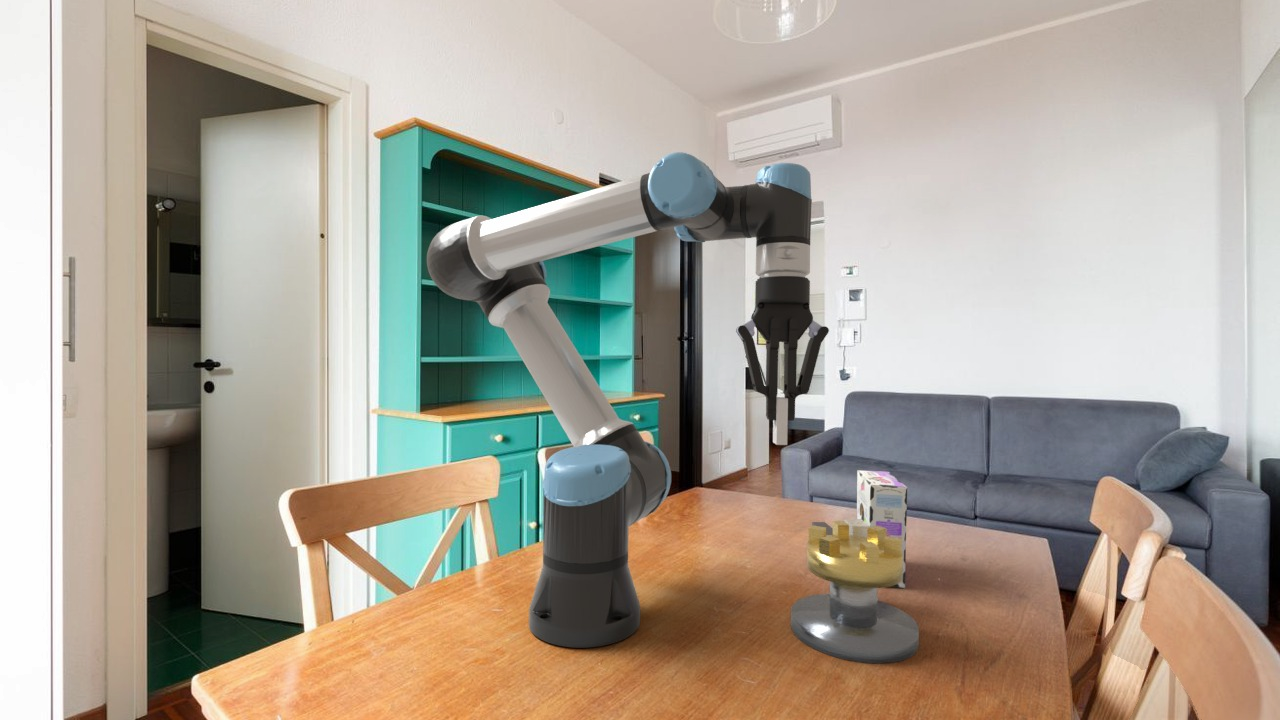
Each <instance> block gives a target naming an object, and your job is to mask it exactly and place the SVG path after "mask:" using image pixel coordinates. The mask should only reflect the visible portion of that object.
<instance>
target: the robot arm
mask: <svg viewBox="0 0 1280 720" xmlns="http://www.w3.org/2000/svg"><path fill="white" fill-rule="evenodd" d="M811 183H812V181H811V173H810V171H809V170H808V169H807V168H806V167H805V166H804V165H801V164H798V163H793V162H780V163H773V164H772V165H766V166H764V167H762V168H760V170H758V172H757V176H756V179H755V183H752V184H746V185H745V184H744V185H739V186H738V185H737V186H736V185H735V186H725V185H724V184H723V182H721V181H720V179H718V178H717V177H716V176H715V174H714V172H713V170H712V169H710V167H709V166H708V165H707V164H706V163H705V162H703V161H702V160H700V159H699V158H697V157H696V156H694V155H692V154H690V153H687V152H683V151H682V152H678V151H677V152H673V153H669V154H667V155H664V156H663V157H662V158H661V159H659V160H658V161H657V162H656V163H655V164H654V165H653V167H652V169H651V171H650V172H648V173H644V174H642V175H638V176H635V177H631V178H628V179H624V180H621V181H619V182H613V183H611V184H607V185H604V186H600V187H597V188H593V189H590V190H586V191H584V192H583V191H582V192H580V193H577V194H573V195H569V196H566V197H562V198H560V199H556V200H552V201H549V202H546V203H542V204H539V205H536V206H533V207H528V208H526V209H522V210H518V211H516V212H512V213H509V214H505V215H501V216H498V217H495V218H490V217H489V216H486V215H476V216H473V217H469V218H466V219H462V220H460V221H457V222H454V223H451V224H450V225H447V226H446V227H444V228H442V229H441V230H440V231H439V232H437V233H436V235H435V236H434V237H433V238H432V240H431V242H430V244H429V247H428V248H427V249H428V250H427V253H426V266H427V270H428V273H429V276H430V278H431V280H432V282H433V283H434V284H435V286H437V288H439V290H440V291H442V292H443V293H445V294H446V295H448V296H450V297H453V298H455V299H459V300H463V301H469V302H476V303H477V304H478V305H479V306H480V309H481V310H482V312H483V313H484V315H485V317H486V319H487V320H488V321H489V324H490V325H491V326H494V327H497V328H502V329H503V330H504V332H505V333H506V334H507V336H508V338H509V340H510V342H511V343H512V345H513V347H514V348H515V350H516V352H517V354H518V355H519V356H520V358H521V360H522V361H523V363H524V365H525V366H526V368H527V370H528V371H529V374H530V375H531V376H532V379H533V381H534V382H535V384H536V385H537V387H538V388H539V390H540V392H541V394H542V395H543V397H544V399H545V400H546V402H547V404H548V405H549V407H550V409H551V411H552V412H553V414H554V416H555V418H556V419H557V420H558V423H559V424H560V426H561V427H562V429H563V431H564V432H565V434H566V435H567V438H568V439H569V441H570V443H571V444H572V446H571V447H567V448H564V449H561V450H559V451H556V452H555V453H553V454H552V455H551V456H550V457H549V458H548V459H547V461H546V462H545V466H544V476H543V477H544V478H543V480H542V488H541V489H542V493H543V498H542V500H543V501H542V503H543V508H542V510H543V511H542V512H543V513H542V515H543V516H542V517H543V519H542V520H543V521H542V522H543V523H542V524H543V525H542V530H543V531H542V532H543V533H542V535H543V536H542V539H543V541H542V567H541V572H540V573H539V574H540V575H539V577H538V580H537V582H536V586H535V589H534V592H533V594H532V598H531V602H530V604H529V609H528V610H529V611H528V627H529V631H530V632H531V633H532V634H533V635H534V636H535V637H536V638H538V639H540V640H542V641H543V642H546V643H549V644H551V645H554V646H555V645H556V646H559V647H564V648H565V647H567V648H575V649H576V648H577V649H579V648H580V649H581V648H597V647H602V646H607V645H612V644H615V643H618V642H620V641H624V640H625V639H627V638H629V637H630V636H632V635H634V633H635V632H636V631H637V630H638V628H639V627H640V625H641V603H640V600H639V596H638V594H637V590H636V587H635V583H634V580H633V577H632V574H631V570H630V567H629V531H630V530H629V527H631V526H632V525H634V524H636V523H637V522H638V521H640V520H642V519H644V518H646V517H648V516H649V515H651V514H652V513H654V512H655V511H656V510H657V509H658V508H659V507H660V505H662V503H663V502H664V501H665V500H666V498H667V496H668V494H669V492H670V488H671V485H672V470H671V467H670V462H669V460H668V459H667V457H666V455H665V454H664V452H663V451H662V450H661V449H660V448H659V447H658V446H656V445H655V444H652V443H651V442H648V441H645V439H643V437H642V435H641V433H640V432H639V431H638V429H637V427H636V426H635V425H634V423H633V422H632V421H628V420H623V419H621V418H619V416H618V414H617V413H616V411H615V409H614V408H613V406H612V405H611V404H610V402H609V400H608V398H607V397H606V395H605V394H604V392H603V390H602V388H601V387H600V385H599V384H598V382H597V380H596V378H595V377H594V375H593V374H592V372H591V371H590V369H589V368H588V366H587V364H586V363H585V361H584V359H583V358H582V356H581V355H580V353H579V352H578V350H577V348H576V347H575V345H574V344H573V341H571V339H570V337H569V334H567V333H566V331H565V329H564V327H563V326H562V324H561V322H560V321H559V319H558V318H557V316H556V313H554V311H553V309H552V308H551V306H550V305H549V303H548V301H549V297H550V296H551V289H550V288H549V286H548V285H547V282H546V278H547V277H548V276H547V275H548V274H547V268H546V265H545V264H544V261H547V260H550V259H554V258H555V259H556V258H558V257H562V256H566V255H569V254H573V253H577V252H582V251H585V250H589V249H593V248H596V247H600V246H604V245H609V244H612V243H615V242H621V241H623V240H627V239H631V238H635V237H638V236H643V235H647V234H650V233H651V234H652V233H654V232H659V231H664V230H668V229H671V228H673V229H674V231H675V232H676V236H677V237H678V239H679V240H681V241H684V242H698V243H705V242H710V241H723V240H736V239H737V240H738V239H753V238H755V242H756V243H755V275H756V276H758V277H759V278H757V280H755V292H754V293H755V294H754V295H755V298H754V300H755V301H754V305H755V306H754V310H753V313H751V316H750V318H751V319H750V320H749V321H747V322H745V323H744V324H742V325H740V326H737V327H736V329H735V330H736V331H735V332H736V334H737V336H738V337H739V339H740V340H741V342H742V344H743V348H744V349H743V350H744V352H745V357H746V361H747V366H748V370H749V375H750V380H751V384H752V388H753V390H754V391H755V392H757V393H758V394H761V395H763V396H764V397H765V399H766V403H765V416H766V419H767V420H768V421H772V443H773V444H775V445H776V446H788V425H789V424H788V423H789V422H788V421H794V420H795V417H796V398H798V396H801V395H805V394H807V393H808V392H809V391H810V387H811V385H812V384H811V383H812V380H813V376H814V372H815V368H816V364H817V361H818V357H819V353H820V350H821V344H823V343H822V342H823V341H824V340H825V338H826V337H827V336H828V334H829V332H830V329H829V328H828V327H827V326H824V325H823V326H822V325H821V324H819V323H818V322H817V321H815V320H814V316H813V314H812V312H811V308H810V304H811V303H810V299H811V298H810V297H811V295H810V294H811V293H810V292H811V280H810V279H809V278H808V277H806V276H808V275H809V274H810V273H811V231H812V230H811V229H812V228H811V227H812V203H813V200H812V186H811V185H812V184H811ZM755 328H756V330H757V331H758V333H759V334H760V335H761V337H762V339H764V341H765V349H766V353H765V354H766V360H765V361H766V362H765V382H764V379H763V373H762V370H761V365H760V362H759V357H758V352H757V349H756V348H757V347H756V344H755V340H754V335H755ZM808 329H809V330H808ZM807 330H808V337H809V340H808V343H807V346H806V349H805V352H804V353H805V354H804V358H803V361H802V365H801V369H800V371H799V376H798V380H797V364H798V363H797V351H798V345H799V344H798V343H799V342H798V341H799V340H800V339H801V338H802V337H803V336H804V334H805V333H806V331H807ZM780 343H783V351H784V352H783V355H784V357H783V358H784V361H783V362H784V363H783V395H784V396H781V397H780V396H778V391H779V390H778V386H779V382H778V381H779V379H778V377H779V348H780Z"/></svg>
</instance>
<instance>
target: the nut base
mask: <svg viewBox="0 0 1280 720" xmlns="http://www.w3.org/2000/svg"><path fill="white" fill-rule="evenodd" d="M844 522H846V523H847V524H848V525H849V535H854V536H861V537H867V533H868V527H870V526H869V525H868V524H867V523H865V522H864V521H863V520H862V519H857V518H844ZM878 589H879V588H861V587H852V586H846V585H841V584H837V583H833V582H830V581H829V593H818V594H813V595H808V596H804V597H802V598H800V599H798V600H796V601H795V602H794V603H793V604H792V605H791V610H790V628H791V630H792V632H793V634H794V635H795V637H796V638H797V639H798V640H799V641H800V642H802V643H803V644H805V645H806V646H809V647H810V648H812V649H813V650H816V651H818V652H820V653H822V654H826V655H829V656H830V657H834V658H836V659H841V660H844V661H845V660H846V661H850V662H856V663H865V664H890V663H898V662H901V661H905V660H908V659H910V658H911V657H913V656H914V655H915V654H916V653H917V652H918V650H919V643H920V629H919V625H918V622H917V621H916V620H915V619H914V618H913V617H912V616H911V615H909V614H908V613H906V611H903V610H902V609H900V608H898V607H896V606H893V605H892V604H889V603H887V602H883V601H881V600H878V591H879V590H878Z"/></svg>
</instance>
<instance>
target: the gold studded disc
mask: <svg viewBox="0 0 1280 720" xmlns="http://www.w3.org/2000/svg"><path fill="white" fill-rule="evenodd" d="M806 545H807V550H806V554H807V555H806V567H807V569H808V571H809V572H810V573H811V574H813V575H814V576H816V577H818V578H821V579H822V580H825V581H827V582H829V583H830V582H833V583H837V584H841V585H846V586H852V587H861V588H878V589H881V588H889V587H890V588H891V586H894V585H896V584H898V583H900V582H901V581H902V579H903V553H902V538H896V537H889V536H887V528H883V527H880V526H873V527H868V533H867V537H861V536H854V535H849V525H848V524H847V523H846V522H845V520H832V526H830V525H829V524H828V523H827V522H825V521H812V522H811V525H810V526H809V528H808V541H807V542H806Z"/></svg>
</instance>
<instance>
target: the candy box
mask: <svg viewBox="0 0 1280 720" xmlns="http://www.w3.org/2000/svg"><path fill="white" fill-rule="evenodd" d="M907 508H908V486H906V485H905V484H904V483H902V482H901V481H900V480H899V479H897V477H895V476H894V475H893V474H892V473H891V472H890V471H883V470H882V471H880V470H879V471H878V470H856V519H862V520H863V521H864V522H865V523H867V524H868V525H869V526H870V527H873V526H880V527H883V528H887V536H889V537H896V538H902V553H903V579H902V581H901V582H900V583H898V584H896V585H894V586H890V588H891V587H892V588H902V589H903V588H906V563H907V561H906V560H907V559H906V555H907V552H906V551H907V547H906V546H907V541H906V540H907V520H908V518H907V513H908V510H907Z"/></svg>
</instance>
